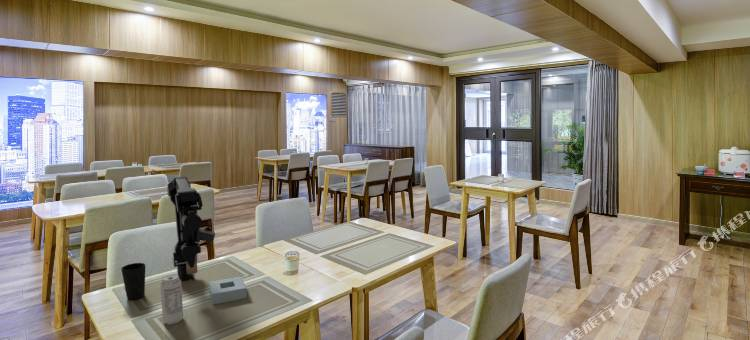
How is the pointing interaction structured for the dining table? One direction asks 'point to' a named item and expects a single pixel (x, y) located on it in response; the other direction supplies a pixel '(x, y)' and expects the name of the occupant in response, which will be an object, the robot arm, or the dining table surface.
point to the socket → (227, 290)
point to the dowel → (192, 270)
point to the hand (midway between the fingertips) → (191, 265)
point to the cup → (134, 280)
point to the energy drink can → (171, 299)
